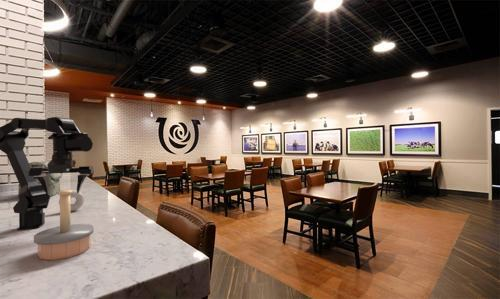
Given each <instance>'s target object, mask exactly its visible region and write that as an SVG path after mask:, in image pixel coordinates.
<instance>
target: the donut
mask: <svg viewBox="0 0 500 299" xmlns="http://www.w3.org/2000/svg"><path fill="white" fill-rule="evenodd" d="M71 190H72V194H70V199H71V198H74V199H75V202H74V203H70V208H71V212H74V211H77V210H79V209H80V208H82V207H83V206H84V203H85V196H84V195H83V193H82V192H81V191H79V193H77V189H76V190H75V189H71ZM58 204H59V206H60V198H59V200H58Z"/></svg>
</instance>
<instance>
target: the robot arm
mask: <svg viewBox="0 0 500 299" xmlns="http://www.w3.org/2000/svg"><path fill="white" fill-rule="evenodd" d="M18 129H21V130H20V131H19V130H18ZM31 129H35V130H44V131H45V130H46V132H51V133H52V134H51V135H49V136H48V137H47V140H52V155H51V160H49V161H50V162H49V163H48V164H47V166H48V169H47V167H33V168H31V167H30V164H29V163H30V162H29V160H28V158H27V155H26V154H25V151H24V150H25V146H26V139H27V138H28V137H29V134H30V133H29V130H31ZM17 130H18V131H17ZM93 144H94V143H93V141H92V138H90V137H89V133H88V132H81V131H80V129H79V128H78V126H77V125H76V123H75V121H74V119H72V118H69V117H67V118H66V117H58V116H53V117H52V116H51V117H47V118H45V119H41V118H40V119H39V118H36V119H35V118H24V117H13V118H12V119H11V121H9V122H8V123H6V124H4V125H2V126H0V151H2V153H4V154H5V155H6V156H7V158H8V161H9V163H10V166H11V167H12V171H13V173H14V175H15V177H16V180H17V181H18V185H19V184H20V187H21V189H20V192H19V195H17V196H18V201H17V202H16V203H15V205H14V206H13V208H12V209H13V213H14V214H18V222H19V223H18V226H19V227H17V228H16V230H17V231H18V230H31V229H38V228H41V227H42V226H43V225H45V223H46V217H45V216H46V215H45V212H44V209H47V208H48V207H49V203H50V200H51V196H50V195H49V194H50V192H49V175H46V174H53V173H62V174H72V173H73V174H74V173H78V175H77V183H76V191H77V193H79V192H81V191H80V190H81V188H82V186H83V183H84V181H85V180H86V178H87V177H88V176H90V175H91V174H94V173H95V172H94V171H95V169H94V166H93V165H80V166H78V167H74V160H73V156H74V155H73V153H74V152H75V153H77V152H78V153H79V152H80V153H81V152H82V153H83V152H85V153H87V152H90V151H91V150H92V148H93V146H94V145H93ZM36 179H38V180H39V181H40V183H41V184H42V185H40V184H39V183H38V182H37V180H36Z"/></svg>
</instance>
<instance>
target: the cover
mask: <svg viewBox="0 0 500 299" xmlns="http://www.w3.org/2000/svg"><path fill="white" fill-rule="evenodd" d="M72 190H73V189H63V190H62V189H61V190H60V191H58V193H57V195H59V199H60V205H59V226H55V227H51V228H47V229H45V230H41V231H39V232H37V233H35V234H34V235H33V243H34V244H36V245H38V244H41V245H52V244H61V243H67V242H71V241H76V240H79V239H82V238H85V237H87V236H89V235H92V234H94V233H95V232H94V230H95V229H94V225H92V224H86V223H75V224H71V223H72V222H71V221H72V220H71V219H72V218H71V212H72V211H71V208H70V204H71V198H70V194H72Z"/></svg>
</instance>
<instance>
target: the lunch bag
mask: <svg viewBox="0 0 500 299" xmlns="http://www.w3.org/2000/svg"><path fill="white" fill-rule="evenodd" d="M50 161H51V160H43V161H42V160H41V161H32V162H29V164H30V167H31V168H33V167H47V169H48V166H47V164H48V163H49V162H50ZM46 175H49V192H50V194H49V195H50V197H53V196H55V195H56V194H58V191H61V186H60V185H61V184H60V183H61V182H60V181H61V179H62V178H63V173H53V174H46ZM36 180H37V182H38V183H39V184H40V185H42V184H41V183H40V181H39V180H38V179H36ZM20 189H21V187H20V184H19V183H18V195H19V192H20ZM18 195H17V196H18Z"/></svg>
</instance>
